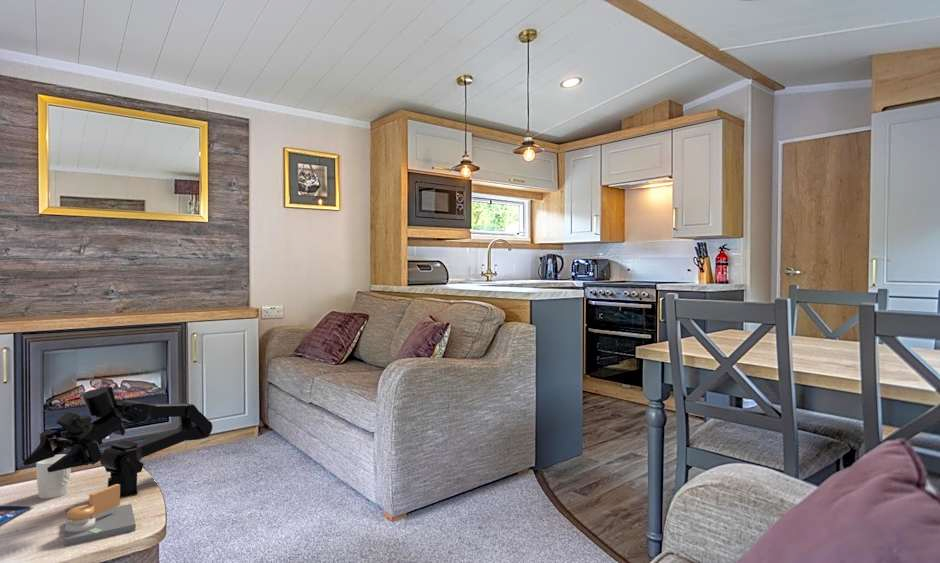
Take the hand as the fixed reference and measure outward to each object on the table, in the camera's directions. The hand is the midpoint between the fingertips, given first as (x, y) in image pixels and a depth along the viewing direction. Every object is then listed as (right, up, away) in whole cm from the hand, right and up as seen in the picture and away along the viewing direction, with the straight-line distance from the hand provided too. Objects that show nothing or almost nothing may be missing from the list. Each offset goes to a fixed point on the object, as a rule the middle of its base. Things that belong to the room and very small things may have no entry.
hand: (35, 467), depth 129 cm
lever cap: (+14, -12, +1) cm, 18 cm away
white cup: (-11, -15, +19) cm, 27 cm away
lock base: (+15, -15, +1) cm, 21 cm away
